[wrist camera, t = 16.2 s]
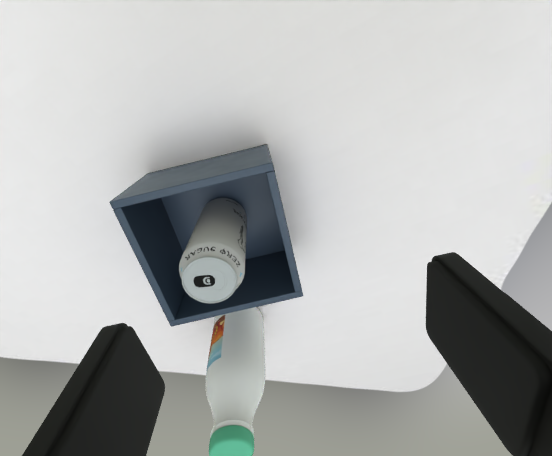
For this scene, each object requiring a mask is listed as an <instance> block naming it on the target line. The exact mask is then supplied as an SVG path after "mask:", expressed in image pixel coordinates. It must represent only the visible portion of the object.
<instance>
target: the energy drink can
mask: <svg viewBox="0 0 552 456" xmlns="http://www.w3.org/2000/svg"><path fill="white" fill-rule="evenodd" d="M246 232H247V216H246V213H245V210H244V209H243V207H242V206H241V205H240V204H239V203H237V202H236V201H234V200H232V199H228V198H217V199H214V200H212V201H210V202H209V203H207V204H206V205H205V207H204V208H203V210H202V212H201V214H200V216H199V219H198V221H197V223H196V226H195V228H194V230H193V232H192V235H191V237H190V239H189V242H188V244H187V246H186V248H185V251H184V253H183V255H182V258H181V260H180V263H179V274H180V277H181V279H182V285H183V288H184V289H185V291H186V293H187V294H188V295H189V296H191V297H192V298H193V299H195V300H197V301H200V302H203V303H218V302H221V301H224V300H226V299H228V298H229V297H230V296H231V295H232V294H233V293H234V292H235V289H237V288H238V287H239V285H240V284H241V283H242V280H243V278H244V274H245V255H246Z"/></svg>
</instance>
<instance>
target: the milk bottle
mask: <svg viewBox="0 0 552 456" xmlns="http://www.w3.org/2000/svg"><path fill="white" fill-rule="evenodd" d="M264 385H265V348H264V327H263V317H262V314H261V312H260V311H259V309H258V308H257V307H254V308H249V309H245V310H241V311H236V312H232V313H228V314H223V315H219V316H216V317H215V322H214V328H213V334H212V340H211V346H210V352H209V358H208V365H207V373H206V394H207V398H208V402H209V404H210V408H211V410H212V414H213V420H214V427H213V429H212V431H211V438H210V444H209V456H252V455H253V452H254V437H253V435H254V430H253V427H252V421H253V417H254V414H255V411H256V409H257V407H258V405H259V402H260V400H261V398H262V394H263V391H264Z"/></svg>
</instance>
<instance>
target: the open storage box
mask: <svg viewBox="0 0 552 456" xmlns="http://www.w3.org/2000/svg"><path fill="white" fill-rule="evenodd" d="M217 198H228V199H232V200H234V201H236V202H237V203H239V204H240V205H241V206H242V207H243V209H244V210H245V213H246V216H247V232H246V255H245V274H244V278H243V280H242V283H241V284H240V285H239V287H238V288H237V289H235V292H234V293H233V294H232V295H231V296H230V297H229V298H228V299H226V300H224V301H221V302H218V303H203V302H200V301H197V300H195V299H193V298H192V297H191V296H189V295H188V294H187V293H186V291H185V289H184V288H183V285H182V279H181V277H180V274H179V263H180V260H181V258H182V255H183V253H184V251H185V248H186V246H187V244H188V242H189V239H190V237H191V235H192V232H193V230H194V228H195V226H196V223H197V221H198V219H199V216H200V214H201V212H202V210H203V208H204V207H205V205H206V204H207V203H209V202H210V201H212V200H214V199H217ZM110 204H111V206H112V208H113V209H114V210H113V211H114V213H115V215H116V217H117V219H118V221H119V223H120V225H121V227H122V229H123V231H124V233H125V235H126V237H127V239H128V241H129V243H130V245H131V247H132V249H133V251H134V253H135V255H136V257H137V259H138V261H139V263H140V265H141V267H142V269H143V271H144V273H145V275H146V277H147V279H148V281H149V283H150V285H151V287H152V289H153V291H154V293H155V295H156V297H157V299H158V301H159V303H160V305H161V307H162V309H163V311H164V313H165V315H166V317H167V320H168V321H169V323H170V325H171V326H175V325H180V324H184V323H189V322H193V321H197V320H202V319H206V318H210V317H215V316H219V315H223V314H228V313H232V312H236V311H241V310H245V309H249V308H254V307H258V306H262V305H267V304H271V303H275V302H280V301H284V300H288V299H293V298H297V297H302V296H303V293H302V288H301V284H300V280H299V275H298V271H297V267H296V262H295V258H294V254H293V249H292V245H291V241H290V236H289V232H288V228H287V223H286V219H285V215H284V210H283V206H282V202H281V197H280V193H279V188H278V184H277V180H276V175H275V171H274V167H273V163H272V159H271V156H270V153H269V149H268V146H267V145H262V146H258V147H254V148H250V149H246V150H242V151H238V152H233V153H229V154H225V155H221V156H217V157H213V158H209V159H205V160H201V161H197V162H193V163H188V164H184V165H180V166H176V167H172V168H168V169H164V170H160V171H156V172H152V173H148V174H146V175H145V176H144V177H142V178H141V179H140V180H138V181H137V182H136V183H134V184H133V185H132V186H130V187H129V188H128V189H126V190H125V191H124V192H122V193H121V194H120V195H118V196H117V197H116V198H114V199H113V200H111V201H110Z"/></svg>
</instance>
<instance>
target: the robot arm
mask: <svg viewBox="0 0 552 456" xmlns="http://www.w3.org/2000/svg"><path fill="white" fill-rule="evenodd" d="M426 330H427V333H428V336H429V337H430V339H431V341H432V342H433V343H434V345H435V346H436V348H437V349H438V351H439V352H440V354H441V355H442V356H443V358H444V359H445V361H446V362H447V364H448V365H449V367H450V368H451V369H452V371H453V372H454V374H455V375H456V377H457V378H458V379H459V381H460V382H461V384H462V385H463V387H464V388H465V390H466V391H467V392H468V394H469V395H470V397H471V398H472V400H473V401H474V403H475V404H476V405H477V407H478V408H479V410H480V411H481V413H482V414H483V415H484V417H485V418H486V420H487V421H488V422H489V424H490V425H491V427H492V428H493V430H494V431H495V433H496V434H497V435H498V437H499V439H500V440H501V441H502V443H503V444H504V446H505V447H506V448H507V450H508V451H509V452H510V453H511V454H512V455H513V456H552V331H551V330H549V329H548V328H547V327H546V326H545V325H543V324H542V323H541V322H540V321H539V320H537V319H536V318H535V317H534V316H533V315H531V314H530V313H529V312H528V311H526V310H525V309H524V308H523V307H522V306H520V305H519V304H518V303H517V302H516V301H514V300H513V299H512V298H511V297H510V296H508V295H507V294H505V293H504V292H503V291H501V290H500V289H499V288H498V287H497V286H495V285H494V284H493V283H492V282H491V281H489V280H488V279H487V278H486V277H485V276H483V275H482V274H481V273H480V272H479V271H477V270H476V269H475V268H474V267H473V266H471V265H470V264H469V263H468V262H467V261H465V260H464V259H463V258H462V257H461V256H459V255H458V254H456V253H454V252H452V253H447V254H443V255H438V256H434V257H433V259H432V262H429V263H428V264H427V296H426ZM164 391H165V384H164V381H163V379H162V377H161V376H160V374H159V372H158V370H157V369H156V367H155V365H154V363H153V362H152V360H151V358H150V357H149V355H148V353H147V351H146V350H145V348H144V346H143V345H142V343H141V341H140V339H139V338H138V336H137V334H136V333H135V331H134V329H133V328H132V327H130V326H129V327H128V326H127V325H126V324H125V323H120V324H116V325H111V326H106V327H104V328H102V330H101V331H100V332H99V334H98V335H97V337H96V339H95V340H94V342H93V343H92V345H91V347H90V348H89V350H88V351H87V353H86V355H85V356H84V358H83V359H82V361H81V363H80V364H79V366H78V367H77V369H76V371H75V372H74V374H73V375H72V377H71V378H70V380H69V382H68V383H67V385H66V386H65V388H64V390H63V391H62V393H61V394H60V396H59V398H58V399H57V401H56V402H55V404H54V406H53V407H52V409H51V410H50V412H49V414H48V415H47V417H46V419H45V420H44V422H43V423H42V425H41V426H40V428H39V430H38V431H37V433H36V434H35V436H34V438H33V439H32V441H31V443H30V444H29V445H28V447H27V449H26V450H25V452H24V454H23V455H22V456H146V454H147V450H148V447H149V443H150V440H151V436H152V433H153V429H154V426H155V423H156V419H157V416H158V413H159V409H160V406H161V402H162V399H163V396H164Z"/></svg>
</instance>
